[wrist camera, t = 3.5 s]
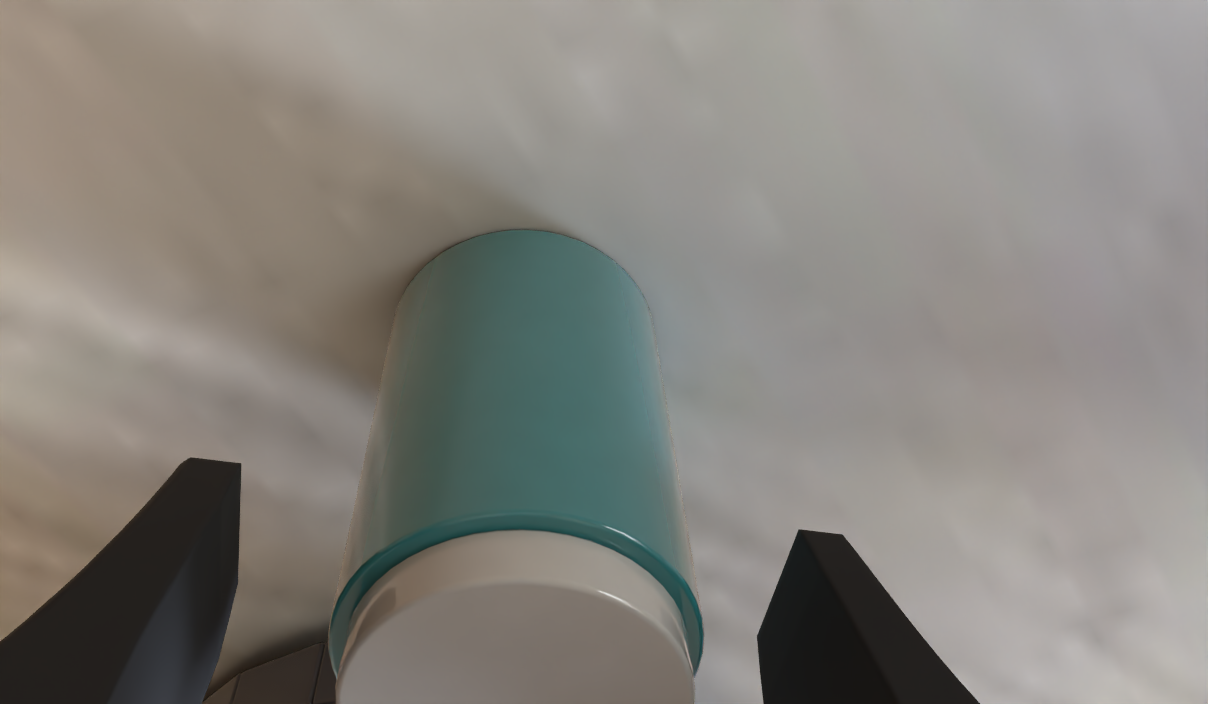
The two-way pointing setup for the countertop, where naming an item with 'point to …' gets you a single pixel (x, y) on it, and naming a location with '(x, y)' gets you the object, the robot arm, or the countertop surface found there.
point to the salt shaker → (519, 494)
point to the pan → (283, 681)
